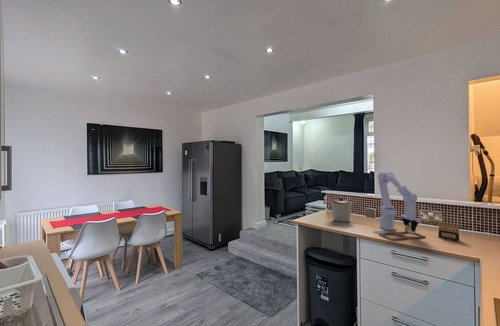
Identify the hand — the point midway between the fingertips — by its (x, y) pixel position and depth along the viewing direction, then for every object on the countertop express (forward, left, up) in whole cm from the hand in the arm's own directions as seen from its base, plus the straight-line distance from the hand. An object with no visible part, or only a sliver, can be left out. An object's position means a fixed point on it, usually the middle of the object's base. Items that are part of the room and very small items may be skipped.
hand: (410, 230), depth 166 cm
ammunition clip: (+11, +19, -4) cm, 22 cm away
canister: (-50, -22, -4) cm, 55 cm away
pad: (-10, -13, -4) cm, 17 cm away
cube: (0, 0, -1) cm, 1 cm away
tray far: (0, 0, -4) cm, 4 cm away
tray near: (0, -14, -4) cm, 15 cm away
